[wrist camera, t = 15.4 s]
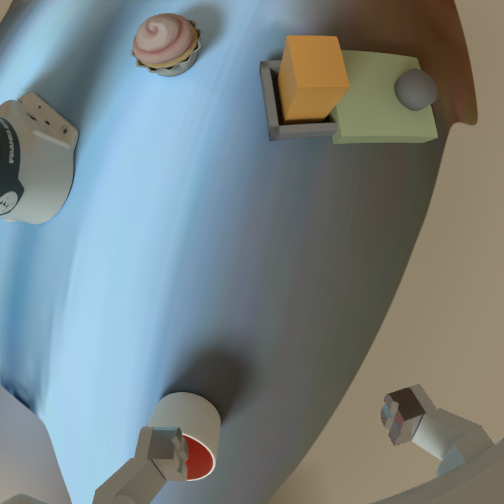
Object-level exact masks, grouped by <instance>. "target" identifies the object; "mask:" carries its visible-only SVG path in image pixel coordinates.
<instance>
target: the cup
mask: <svg viewBox="0 0 504 504" xmlns="http://www.w3.org/2000/svg"><path fill="white" fill-rule="evenodd" d="M146 427H180V429H181V431H182V437H184V438H185V439H186V441H187V445H188V460H187V461H186V462H185V464H186V466H187V468H188V469H187V481H191V480H198V479H201V478H204V477H206V476H208V475H209V474H210V473H211V472H212V471H213V470H214V468H215V465H216V457H217V450H218V442H219V434H220V427H221V420H220V416H219V413H218V411H217V410H216V408H215V407H214V406H213V405H212V404H211V403H210V402H209V401H208V400H206V399H205V398H203V397H201V396H199V395H196V394H193V393H187V392H176V393H172V394H169V395H167V396H165V397H163V398H162V399H161V400H160V401H159V402H158V403H157V405H156V407H155V409H154V411H153V413H152V416H151V418H150V420H149V422H148V424H147V426H146Z"/></svg>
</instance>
